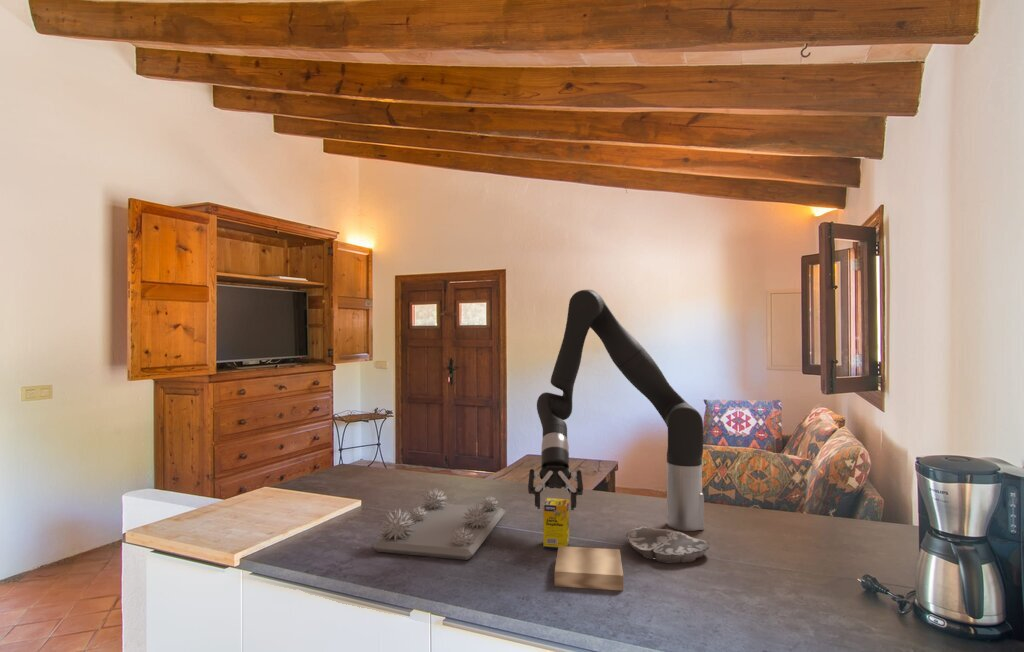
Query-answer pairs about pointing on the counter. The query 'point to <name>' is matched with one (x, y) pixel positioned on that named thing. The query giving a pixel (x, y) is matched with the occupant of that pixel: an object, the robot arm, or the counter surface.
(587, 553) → the oak base board
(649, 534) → the brain slice
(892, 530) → the counter surface
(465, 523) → the decorative tray
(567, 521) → the supplement box
